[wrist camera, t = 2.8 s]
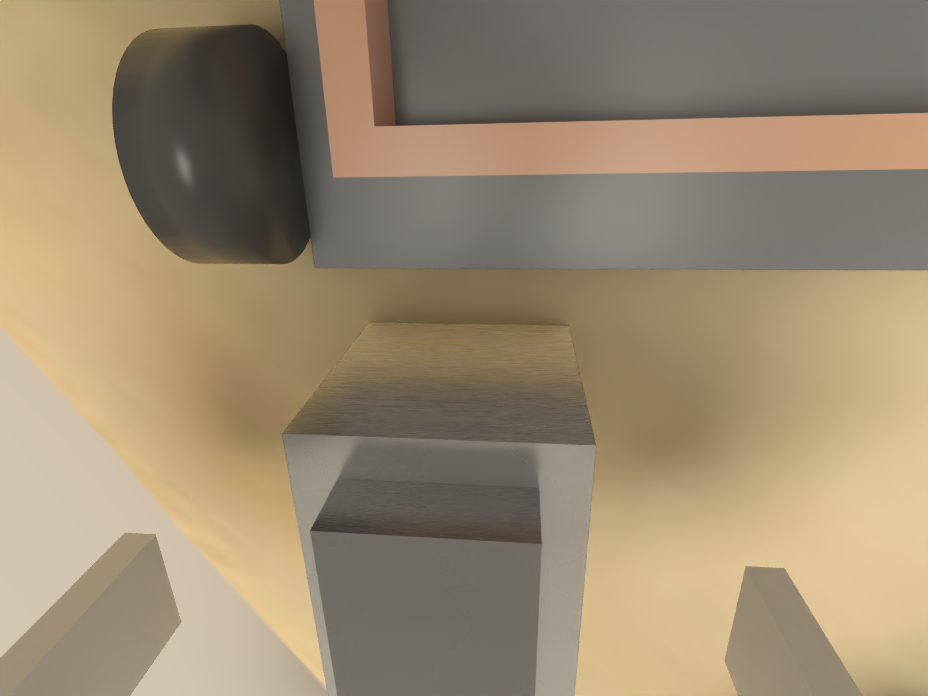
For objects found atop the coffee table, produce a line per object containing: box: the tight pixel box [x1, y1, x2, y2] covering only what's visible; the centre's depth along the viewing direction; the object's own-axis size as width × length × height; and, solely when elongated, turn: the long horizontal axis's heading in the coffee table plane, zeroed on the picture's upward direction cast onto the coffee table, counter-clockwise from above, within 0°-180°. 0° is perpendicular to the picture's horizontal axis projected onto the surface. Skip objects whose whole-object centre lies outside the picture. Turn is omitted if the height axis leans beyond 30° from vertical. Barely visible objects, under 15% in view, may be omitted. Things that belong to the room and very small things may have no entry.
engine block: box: [282, 322, 596, 696], centre depth 14 cm, size 8×6×8 cm
